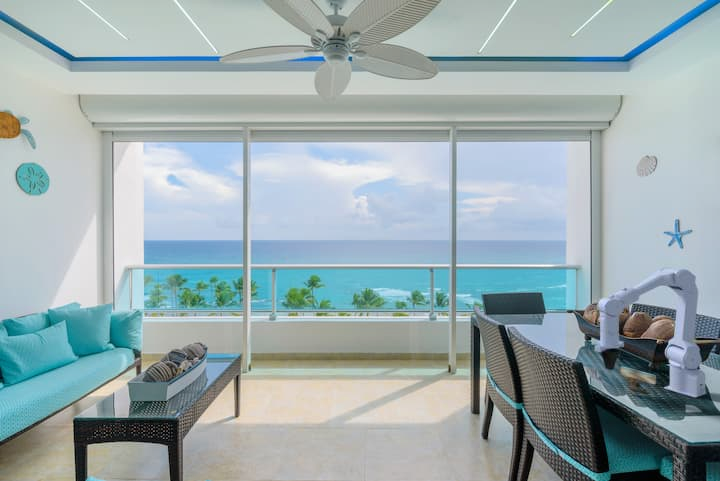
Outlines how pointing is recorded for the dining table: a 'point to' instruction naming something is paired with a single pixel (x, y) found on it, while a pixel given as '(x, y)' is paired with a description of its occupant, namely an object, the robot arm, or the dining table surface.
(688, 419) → the dining table surface
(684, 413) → the dining table surface
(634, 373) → the stop rail
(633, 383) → the seahorse
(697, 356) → the robot arm
